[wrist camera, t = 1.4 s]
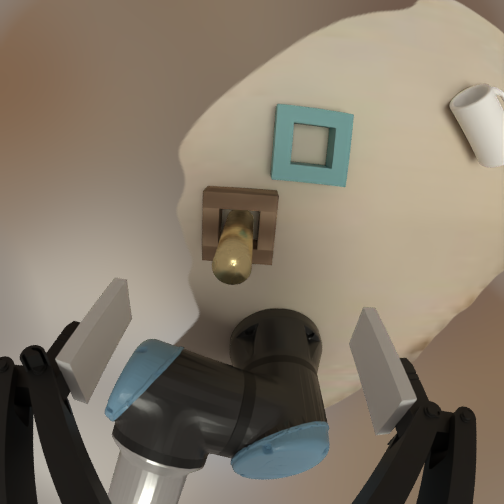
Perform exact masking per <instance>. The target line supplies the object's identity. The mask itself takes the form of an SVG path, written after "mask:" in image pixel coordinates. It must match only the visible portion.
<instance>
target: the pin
mask: <svg viewBox="0 0 504 504" xmlns="http://www.w3.org/2000/svg"><path fill="white" fill-rule="evenodd" d="M253 225H254V219H253V216H252V214H251V213H250V212H249V211H248V210H232V211H231V212H230V213H229V214H228V216H227V219H226V222H225V225H224V228H223V231H222V234H221V237H220V241H219V244H218V247H217V250H216V253H215V256H214V259H213V262H212V270H213V273H214V275H215V276H216V278H217V279H218V280H220V281H221V282H223V283H226V284H230V285H235V284H240V283H242V282H244V281H245V280H246V279H247V278H248V277H249V275H250V273H251V269H252V248H253Z"/></svg>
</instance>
